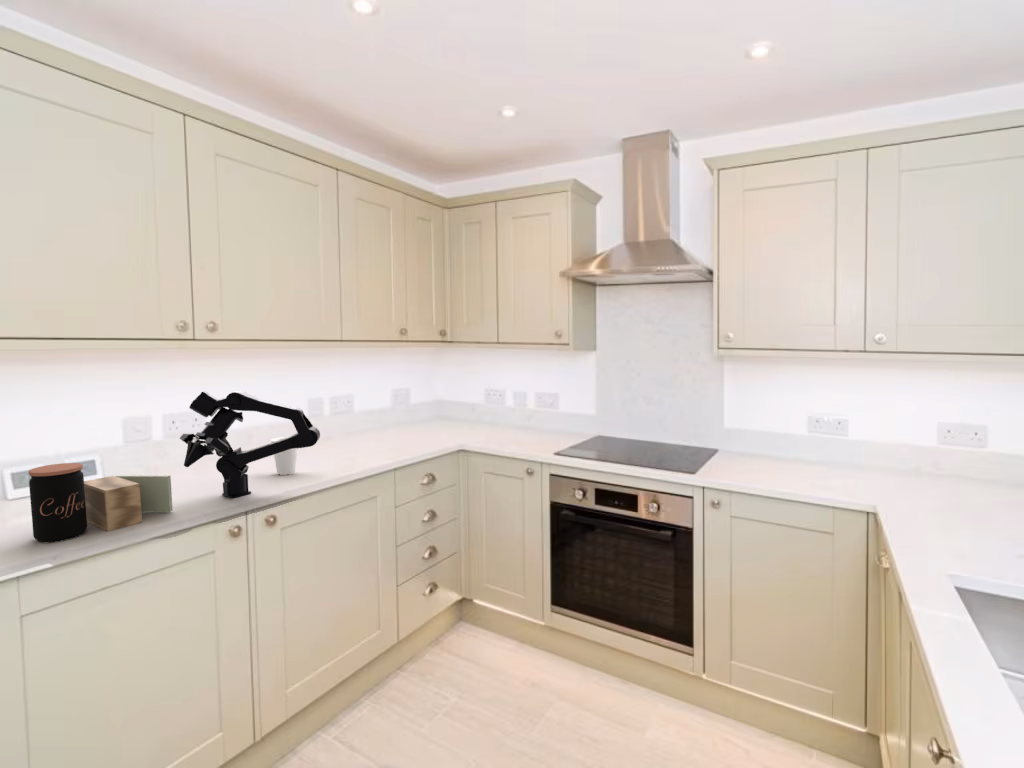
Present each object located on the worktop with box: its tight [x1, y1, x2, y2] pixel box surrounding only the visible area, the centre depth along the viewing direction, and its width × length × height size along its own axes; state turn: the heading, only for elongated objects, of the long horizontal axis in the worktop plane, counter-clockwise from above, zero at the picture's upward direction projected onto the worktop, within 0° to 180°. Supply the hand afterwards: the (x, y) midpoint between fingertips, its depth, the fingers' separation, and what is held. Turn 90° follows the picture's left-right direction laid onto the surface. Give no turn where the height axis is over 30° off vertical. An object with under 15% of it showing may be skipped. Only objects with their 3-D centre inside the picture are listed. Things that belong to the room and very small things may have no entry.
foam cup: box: [271, 436, 299, 476], centre depth 200 cm, size 10×9×13 cm
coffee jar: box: [27, 462, 88, 543], centre depth 136 cm, size 11×11×18 cm
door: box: [115, 474, 173, 513], centre depth 155 cm, size 2×16×11 cm, turn 88°
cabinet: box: [84, 475, 143, 532], centre depth 147 cm, size 8×16×11 cm, turn 58°
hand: (185, 466), depth 160 cm, fingers closed
